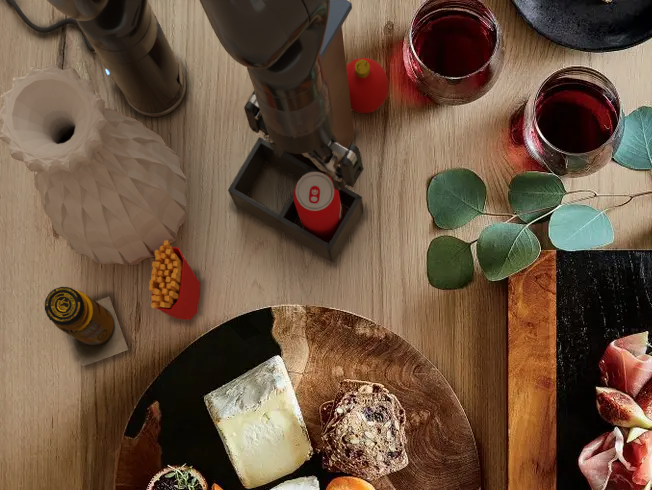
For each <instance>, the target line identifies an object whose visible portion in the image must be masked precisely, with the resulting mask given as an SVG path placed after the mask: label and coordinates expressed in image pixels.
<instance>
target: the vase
mask: <svg viewBox="0 0 652 490" xmlns="http://www.w3.org/2000/svg"><path fill="white" fill-rule="evenodd" d="M11 80H12V84H11V89H9V90H8V91H3V92H2V93H1V95H0V98H1V100H2V105H3V106H2V107H1V109H0V125H1V129H0V140H1V141H2V142H4V143H6V144H7V145H8V146H9V149H8V150H9V155H10V157H11V158H12V159H14V160H17V161H20V162H24V164H25V166H26V168H27V169H28V170H29V171H30V172H33V181H34V183H33V184H34V186H35V189H36V190H37V191H38V192H39V194H40V202H41V205H42V207H43V211H44V213H45V214H46V215H47V216H48V217H49V220H50V222H51V225H52V226H51V227H52V228H53V229H54V231H55V234H57V235H58V236H59V237H61V238H63V239H64V240H65V242H66V243H67V244H68V246H69V248H70V249H71V250H72V251H74V252H75V254H80V255H83V256H87V257H88V258H90V259H91V260H92V261H94V262H96V263H98V264H103V265H117V264H120V265H124V266H125V265H126V266H136V265H139V264H141V262H142V261H144V260H145V259H151V258H155V255H154V254H155V250H159V251H160V246H164V241H166V240H168V241H169V243H170V244H173V243H175V242H176V240H177V235H178V231H179V228H180V226H181V225H183V224H184V223H185V221H186V218H187V202H186V200H187V195H188V182H187V176H185V174H184V172H183V171H182V168H181V164H180V163H181V162H180V157H179V156H178V155H177V152H175V151H174V150H173V149H171V148H170V147H168V146H167V144H166V142H165V141H164V139H163V137H162V136H161V135H160V134H158V133H157V132H155V131H153V130H152V129H150V128H147V126H145V125H144V123H142V122H141V121H139V120H137V119H136V118H134V117H131V116H126V115H125V114H121V112H119V111H118V110H116V109H115V108H114V109H113V108H110V107H106V102H105V100H104V99H103V98H102V97H100V96H98V95H97V94H96V88H95V84H94V82H93V81H92V80H90V79H87V78H81V76H80V75H79V73H78V72H77V70H76V68H74V67H67V68H66V69H61V68H60V67H59V66H57V64H55V63H49V64H47V66H46V67H45V68H43V69H42V68H38V67H35V66H32V65H31V66H30V67H29V68H28V72H27V73H26V75H24V76H20V77H19V76H14V77H13V78H12V79H11Z"/></svg>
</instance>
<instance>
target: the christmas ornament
mask: <svg viewBox="0 0 652 490" xmlns="http://www.w3.org/2000/svg"><path fill="white" fill-rule="evenodd" d="M346 68H347V76H348V85H349V93H350V102H351V110H352V111H353V112H355V113H359V114H369V113H372V112H375V111H377V110H378V109H379V108H380V107H381V106H383V104H384V102H385V101H386V99H387V97H388V93H389V80H388V79H389V78H388V75H387V73H386V71H385V70H384V68H383V66H381V64H380V63H378V62H377V61H375V60H374V59H371V58H367V57H360V58H356V59H353V60H351V61H350V62H349V63H347V64H346Z"/></svg>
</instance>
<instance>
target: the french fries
mask: <svg viewBox="0 0 652 490" xmlns="http://www.w3.org/2000/svg"><path fill="white" fill-rule="evenodd" d="M154 255H155V257H154V258H155V261H152V264H151V267H152V270H151V276H150V277H151V279H149V283H148V284H149V285H148V291H150V292H152V293H151V295H150V298H151V301H152V303H150V306H151V308H152V309H156V310H158V311H160V312H162V313H164V314H166V315H168V316H170V317H172V318H174V319H178V320H186V321H190V320H191V319H192V318H193V317H194V316H195V315H197V313H198V310H199V302H200V295H201V282H200V281H199V279H198V278H197V276H196V274H195V273H194V271H193V269H192V267H191V266H190V264H189V262H188V261H187V259H186V258H185V256H184V254H183V253H182V251H181V248H180V247H176V246H172V245H171V243H169V241H168V240H166V241H164V246H160V251H159V250H155V254H154Z"/></svg>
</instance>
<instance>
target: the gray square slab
mask: <svg viewBox="0 0 652 490" xmlns="http://www.w3.org/2000/svg"><path fill="white" fill-rule="evenodd" d="M352 9H353V4H352V2H351V1H349V0H330V10H329V17H328V23H327V27H326V32H325V37H324V41H323V45H322V48H321V51H320V55H321V61H322V59H323V57H324V55H325V54H326V52H327V50H328V49H329V47H330V45H331V43H332V42H333V40H334V38H335V37H336V35H337V33H338V32H339V30H340V28H341V26H342V27H343V24H344V23H345V22H346V20H347V19H348V17H349V15H350V13H351V11H352Z"/></svg>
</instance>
